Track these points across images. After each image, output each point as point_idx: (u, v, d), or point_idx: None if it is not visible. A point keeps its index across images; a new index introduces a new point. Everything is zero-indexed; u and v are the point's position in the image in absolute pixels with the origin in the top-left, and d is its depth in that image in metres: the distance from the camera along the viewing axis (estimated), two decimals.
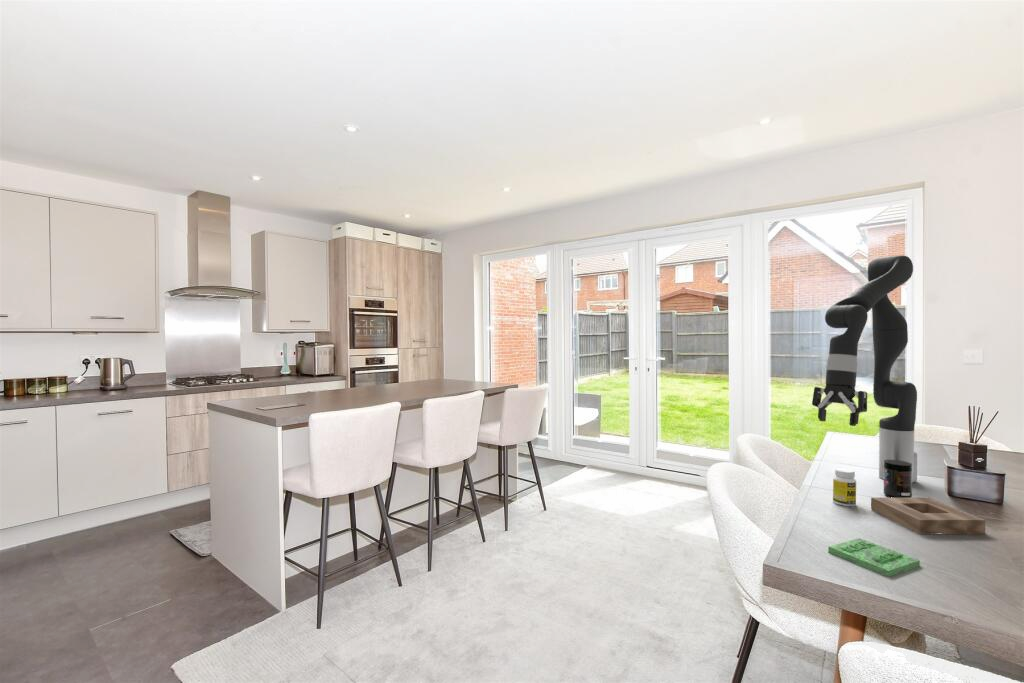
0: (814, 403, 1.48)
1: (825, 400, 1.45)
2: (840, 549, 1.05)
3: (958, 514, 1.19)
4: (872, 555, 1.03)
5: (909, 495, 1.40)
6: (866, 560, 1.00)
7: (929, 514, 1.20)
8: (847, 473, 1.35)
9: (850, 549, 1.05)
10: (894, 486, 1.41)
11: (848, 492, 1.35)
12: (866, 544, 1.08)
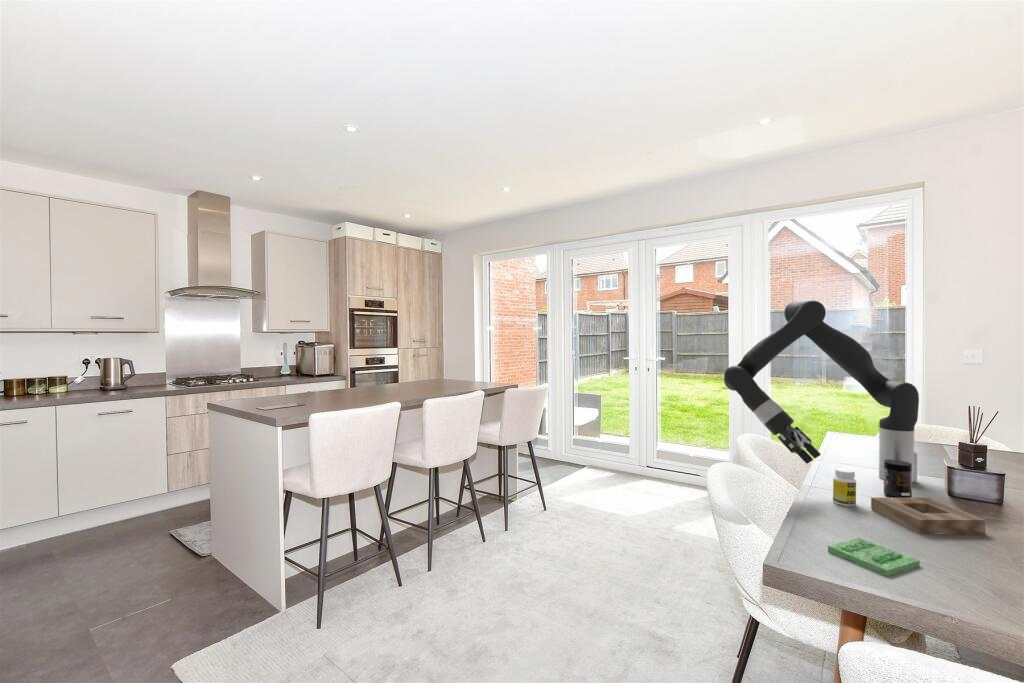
0: None
1: None
2: (839, 549, 1.06)
3: (958, 514, 1.19)
4: (871, 555, 1.03)
5: (909, 495, 1.40)
6: (865, 559, 1.01)
7: (929, 514, 1.20)
8: (847, 473, 1.35)
9: (849, 549, 1.05)
10: (894, 486, 1.41)
11: (848, 492, 1.35)
12: (866, 544, 1.08)
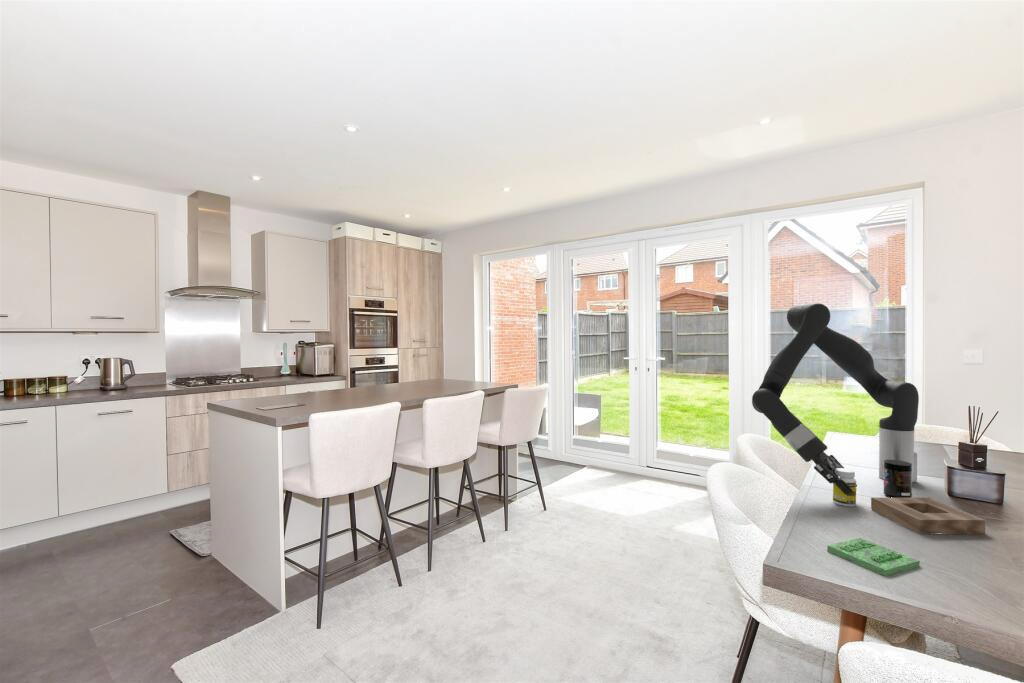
0: None
1: None
2: (839, 548, 1.06)
3: (958, 514, 1.19)
4: (871, 555, 1.03)
5: (909, 495, 1.40)
6: (864, 559, 1.01)
7: (929, 514, 1.20)
8: (847, 473, 1.35)
9: (849, 548, 1.05)
10: (894, 486, 1.41)
11: None
12: (866, 544, 1.08)
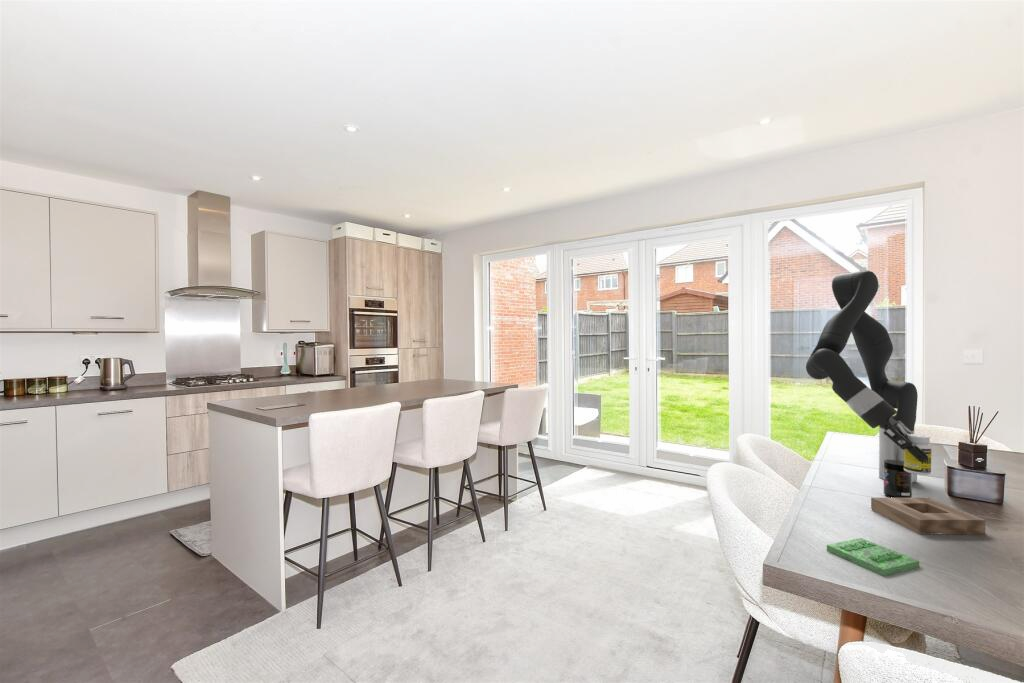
0: None
1: None
2: (838, 547, 1.06)
3: (958, 514, 1.19)
4: (870, 554, 1.03)
5: (909, 495, 1.40)
6: (863, 558, 1.01)
7: (929, 514, 1.20)
8: (922, 438, 1.23)
9: (848, 548, 1.05)
10: (894, 486, 1.41)
11: None
12: (866, 544, 1.08)
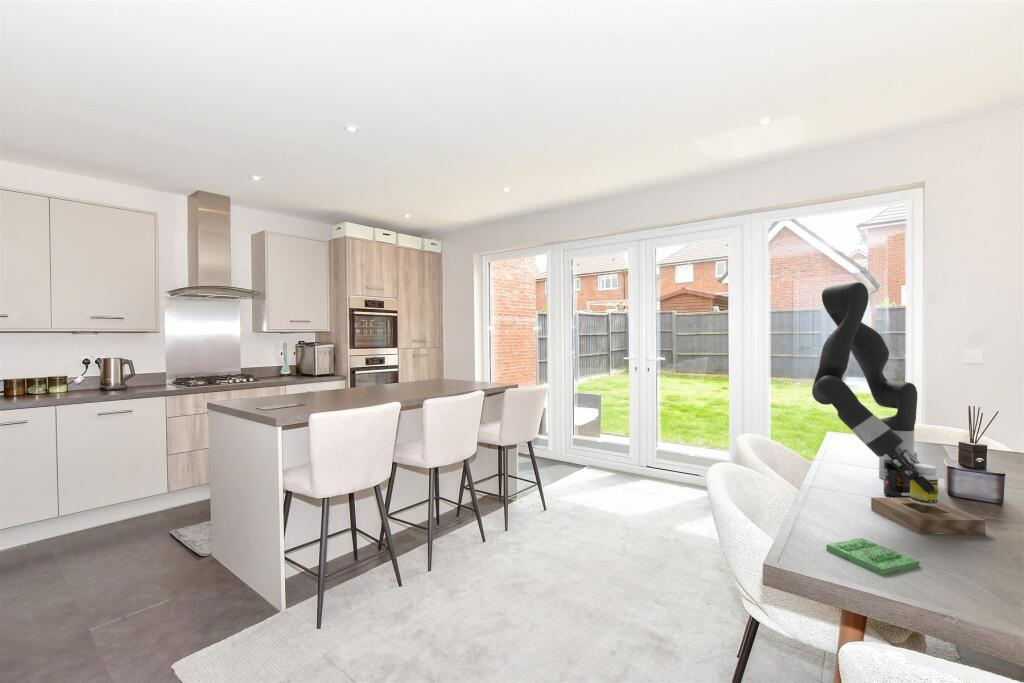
0: None
1: None
2: (838, 547, 1.06)
3: (958, 514, 1.19)
4: (870, 554, 1.03)
5: (909, 495, 1.40)
6: (862, 558, 1.01)
7: (929, 514, 1.20)
8: (929, 469, 1.22)
9: (848, 547, 1.06)
10: (894, 486, 1.41)
11: None
12: (867, 544, 1.08)
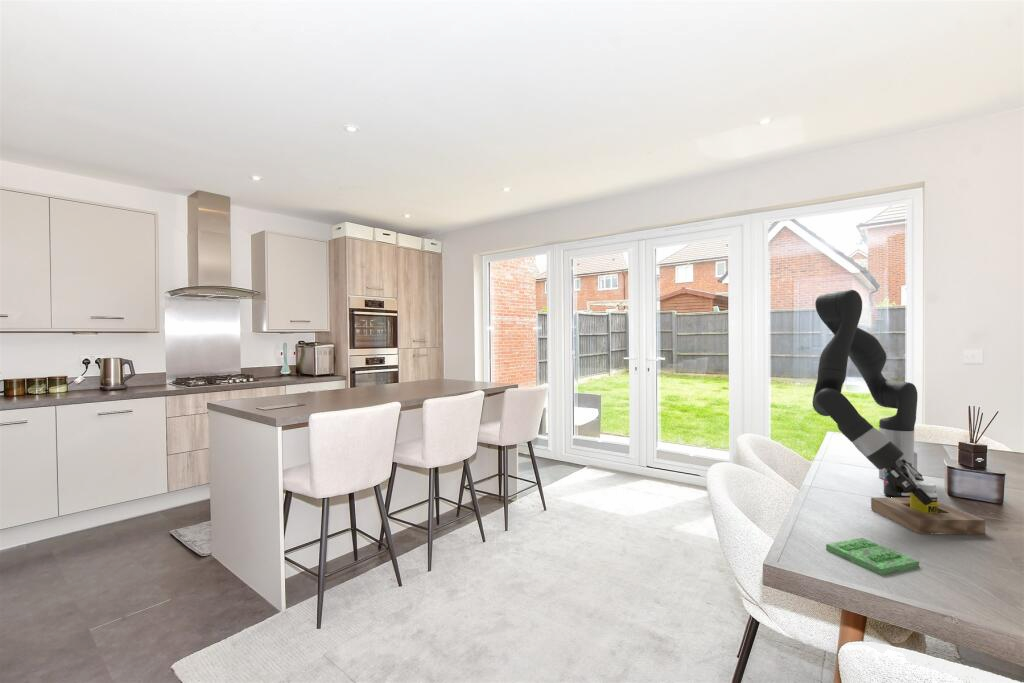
0: None
1: None
2: (837, 547, 1.06)
3: (958, 514, 1.19)
4: (869, 554, 1.03)
5: (909, 495, 1.40)
6: (861, 558, 1.01)
7: (929, 514, 1.20)
8: (928, 486, 1.22)
9: (848, 547, 1.06)
10: (894, 486, 1.41)
11: (930, 507, 1.22)
12: (867, 544, 1.08)
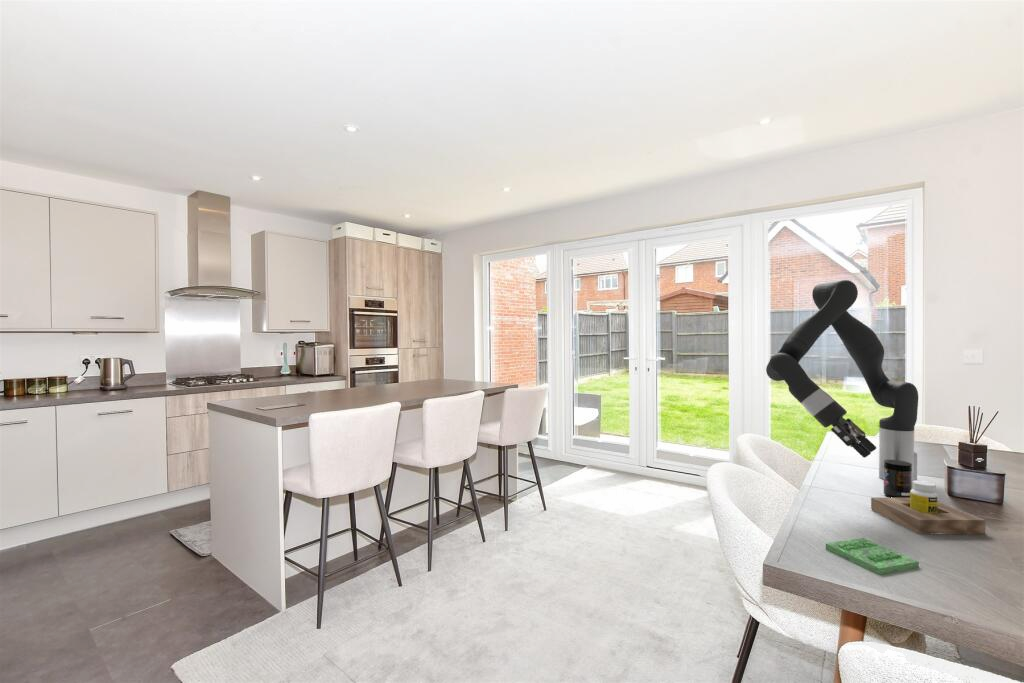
0: (856, 437, 1.40)
1: None
2: (837, 546, 1.07)
3: (958, 514, 1.19)
4: (869, 554, 1.03)
5: (909, 495, 1.40)
6: (860, 557, 1.01)
7: (929, 514, 1.20)
8: (928, 486, 1.22)
9: (847, 547, 1.06)
10: (894, 486, 1.41)
11: (930, 507, 1.22)
12: (867, 543, 1.08)
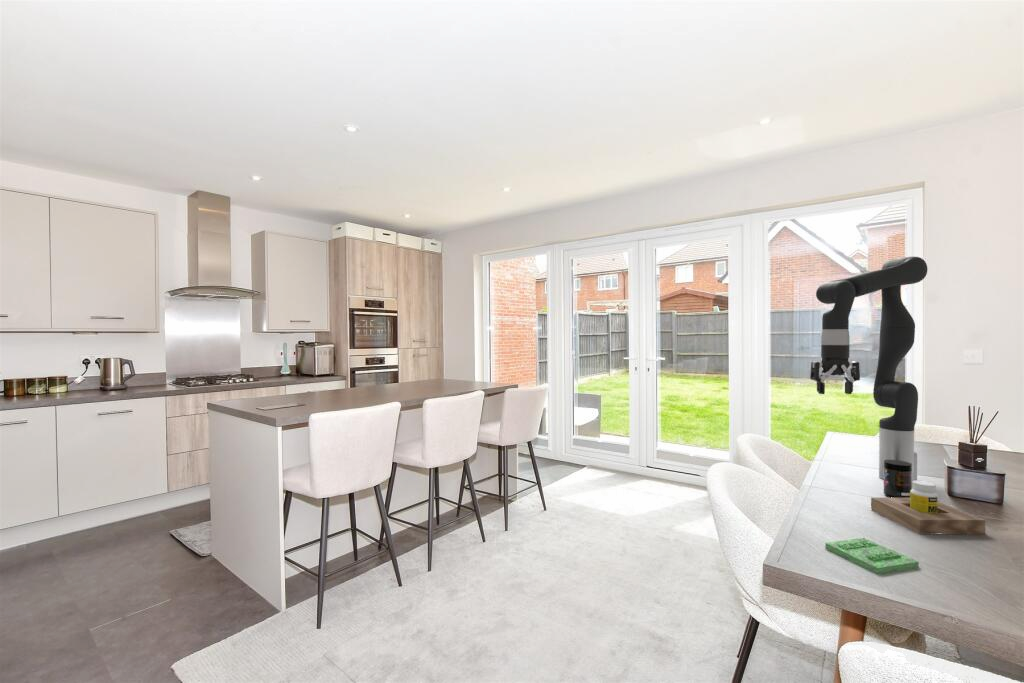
0: None
1: None
2: (836, 546, 1.07)
3: (958, 514, 1.19)
4: (868, 553, 1.03)
5: (909, 495, 1.40)
6: (859, 557, 1.02)
7: (929, 514, 1.20)
8: (928, 486, 1.22)
9: (847, 546, 1.06)
10: (894, 486, 1.41)
11: (930, 507, 1.22)
12: (867, 543, 1.08)
